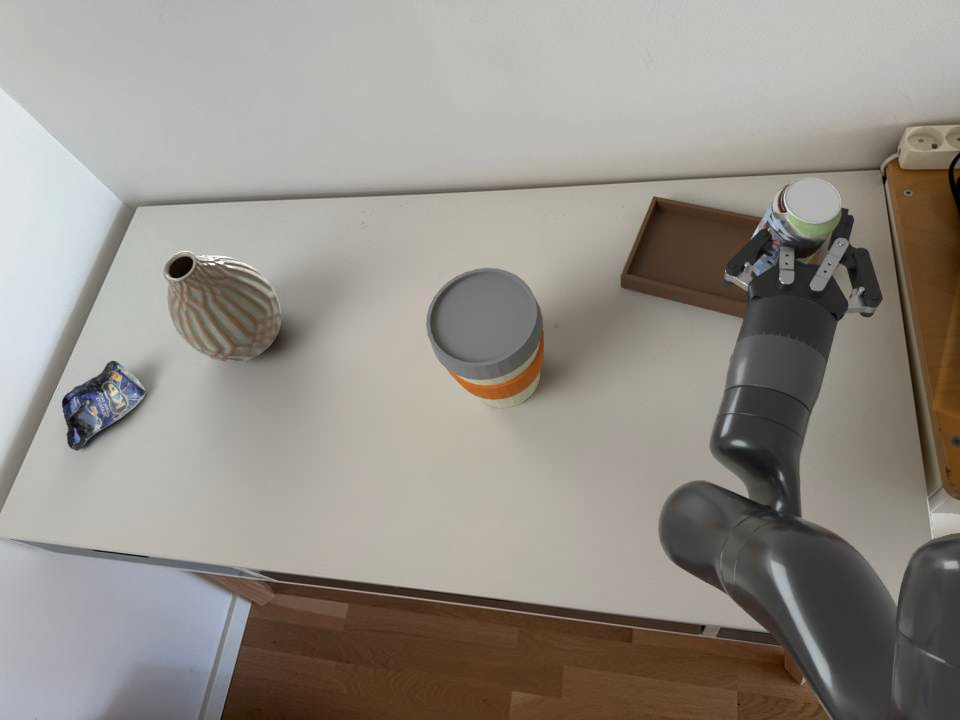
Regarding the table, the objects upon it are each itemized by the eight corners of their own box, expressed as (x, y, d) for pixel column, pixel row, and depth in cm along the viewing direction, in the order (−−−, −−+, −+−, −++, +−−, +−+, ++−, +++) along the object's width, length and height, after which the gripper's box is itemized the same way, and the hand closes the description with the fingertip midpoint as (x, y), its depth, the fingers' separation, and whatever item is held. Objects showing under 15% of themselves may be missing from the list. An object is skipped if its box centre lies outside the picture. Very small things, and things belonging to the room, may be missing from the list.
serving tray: (820, 243, 81) (826, 230, 79) (794, 331, 77) (799, 320, 74) (652, 208, 88) (653, 195, 86) (620, 287, 84) (620, 276, 82)
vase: (284, 281, 96) (218, 205, 81) (307, 350, 90) (240, 281, 74) (204, 320, 96) (122, 251, 81) (221, 392, 90) (137, 331, 74)
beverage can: (750, 237, 71) (771, 159, 61) (822, 254, 69) (856, 175, 58) (733, 283, 69) (751, 210, 59) (806, 302, 67) (838, 230, 56)
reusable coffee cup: (551, 423, 78) (534, 370, 65) (450, 420, 81) (415, 367, 68) (558, 331, 83) (544, 264, 70) (463, 331, 86) (432, 266, 73)
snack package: (133, 451, 88) (155, 372, 93) (92, 437, 83) (118, 354, 88) (71, 456, 93) (95, 380, 97) (28, 443, 87) (56, 363, 92)
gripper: (882, 364, 51) (918, 197, 57) (700, 318, 56) (751, 169, 62) (853, 401, 58) (888, 248, 64) (693, 358, 63) (739, 219, 69)
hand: (820, 210), depth 63 cm, fingers closed on beverage can, 3 cm apart
